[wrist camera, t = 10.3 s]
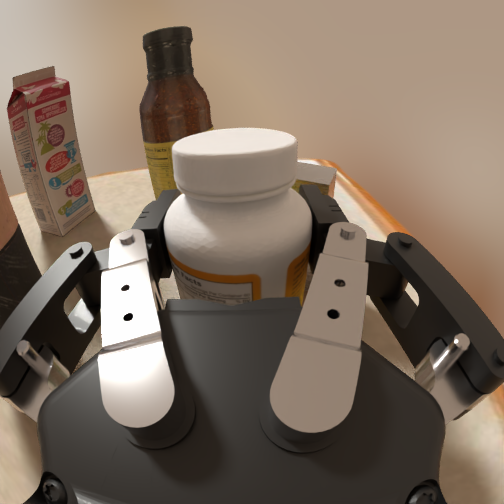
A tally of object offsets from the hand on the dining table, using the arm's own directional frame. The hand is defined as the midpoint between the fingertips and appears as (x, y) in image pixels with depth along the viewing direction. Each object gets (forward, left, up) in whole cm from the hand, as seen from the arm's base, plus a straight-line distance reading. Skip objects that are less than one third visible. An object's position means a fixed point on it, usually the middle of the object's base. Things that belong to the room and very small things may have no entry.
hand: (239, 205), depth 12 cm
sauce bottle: (+9, +10, -9) cm, 16 cm away
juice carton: (+5, +30, -9) cm, 32 cm away
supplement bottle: (-2, -1, -6) cm, 7 cm away
